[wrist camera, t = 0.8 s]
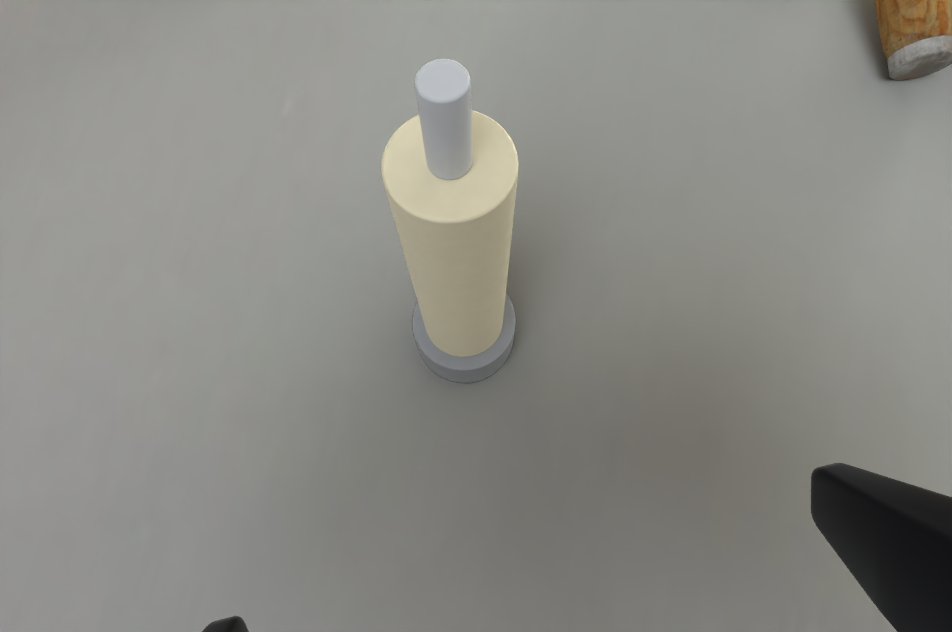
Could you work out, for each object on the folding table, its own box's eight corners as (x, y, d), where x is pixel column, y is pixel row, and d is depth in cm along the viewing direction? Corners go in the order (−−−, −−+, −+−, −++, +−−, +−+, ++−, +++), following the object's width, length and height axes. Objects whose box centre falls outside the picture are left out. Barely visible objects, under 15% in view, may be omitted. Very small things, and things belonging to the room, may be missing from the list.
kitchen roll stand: (525, 367, 23) (588, 142, 9) (431, 395, 23) (354, 200, 9) (497, 281, 24) (515, -24, 11) (407, 306, 24) (310, 22, 10)
